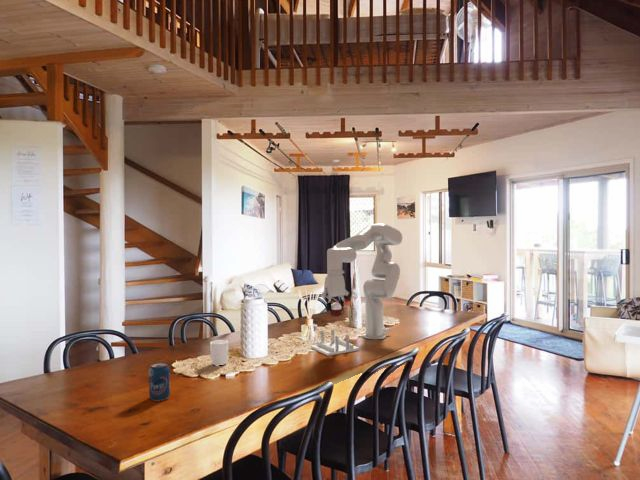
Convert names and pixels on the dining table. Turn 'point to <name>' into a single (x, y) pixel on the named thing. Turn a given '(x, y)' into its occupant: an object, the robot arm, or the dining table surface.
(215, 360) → the white cup
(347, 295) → the robot arm
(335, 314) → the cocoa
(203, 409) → the dining table surface
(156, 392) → the soda can
